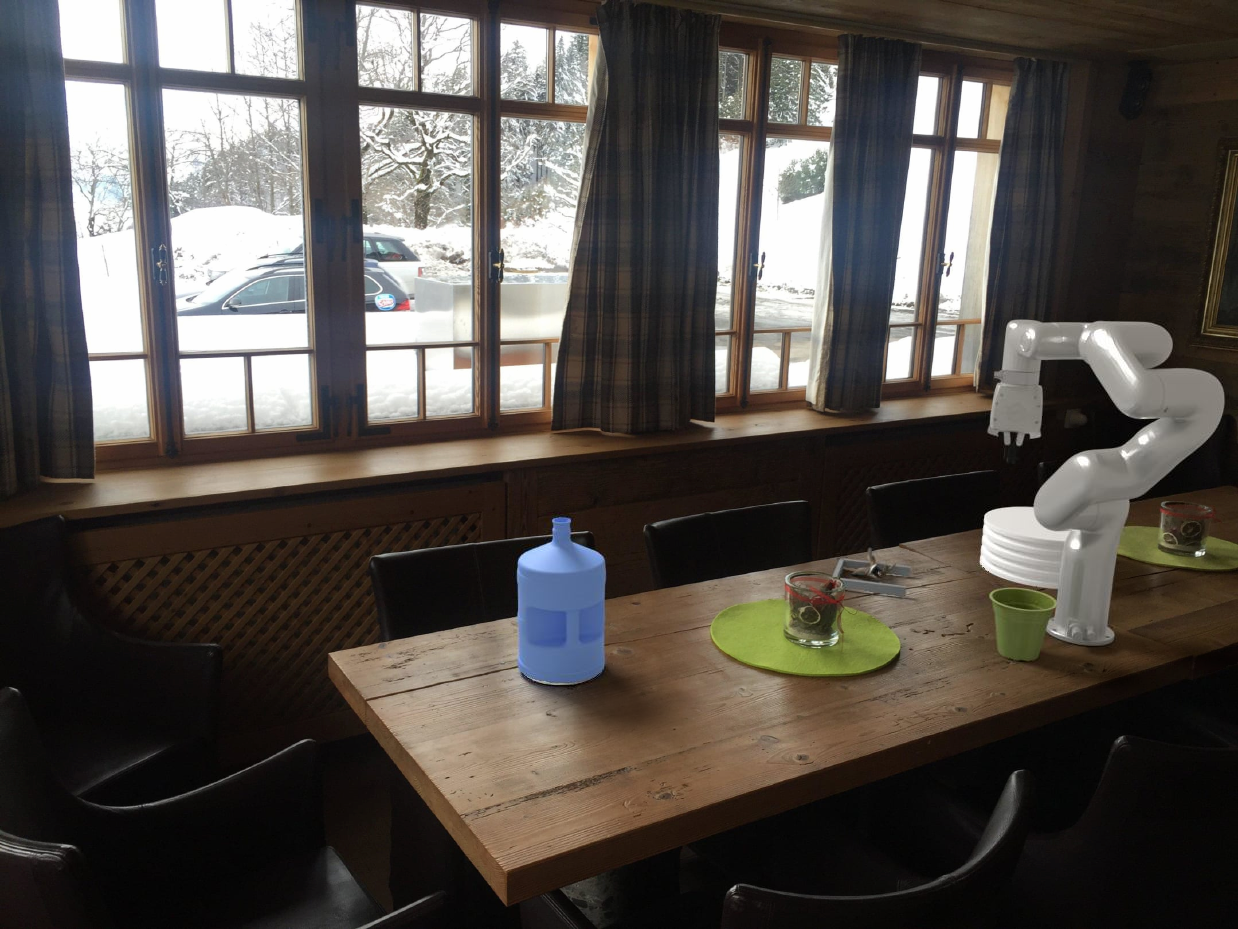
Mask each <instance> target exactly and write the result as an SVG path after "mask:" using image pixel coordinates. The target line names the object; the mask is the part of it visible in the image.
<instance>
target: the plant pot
mask: <svg viewBox="0 0 1238 929" xmlns="http://www.w3.org/2000/svg"><path fill="white" fill-rule="evenodd" d="M989 599H990V600H991V602H992V611H993V612H994V620H995V622H994V623H995V634H996V635H995V636H996V647H997V648H996V649H997V651H998V653H999V655H1001V657H1004V658H1006V657H1007V658H1006V659H1009V658H1011V659H1013V660H1012V661H1020V660H1021V661H1025V662H1030V661H1031V660H1032V661H1035V660H1037V659H1038V657H1039V656H1040V652H1041V648H1042V646H1043V641H1044V638H1045V635H1046V632H1047V631H1046V628H1047V625H1048V622H1049V619H1051V618H1052V615H1053V612H1054V610H1056V607H1057V605H1058V603H1057V599H1055V598H1054V597H1052V596H1051V595H1049V594H1047V593H1044V592H1041V591H1038V590H1034V589H1029V588H1020V587H1004V588H998V589H994V590H992V591H991V592H990V593H989ZM1011 659H1010V660H1011ZM1032 661H1031V662H1032Z"/></svg>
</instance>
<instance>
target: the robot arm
mask: <svg viewBox="0 0 1238 929" xmlns="http://www.w3.org/2000/svg"><path fill="white" fill-rule="evenodd" d="M1005 329H1006V330H1005V338H1004V347H1003V356H1002V366H1001V367H1002V368H1001V370H999V371H994V372H993V373H994V374H993V376H994V377H993V379H998V380H1000V382H997V383H996V386H995V389H994V393H993V398H992V404H991V410H990V418H989V419H990V420H989V426H988V428H987V434H990V435H993V436H996V437H998V438H999V439H1000V440H1001V441H1002V442H1003V443H1004V453H1003V459H1006V464H1013V465H1014V464H1016V460H1019V459H1020V453H1021V452H1020V451H1021V446H1022V445H1023V444H1024V443H1026V442H1027V441H1028V440H1030V439H1037V438H1040V437H1041V436H1042V432H1041V426H1042V416H1043V402H1044V401H1043V398H1044V397H1043V387H1042V385H1039V383H1040V373H1041V372H1040V371H1041V365H1042V364H1041V363H1042V360H1043V361H1044V360H1045V361H1048V360H1083V361H1084V362H1085V363H1086V364H1088V365H1089V366H1090V368H1091V369H1092V371H1093V373H1094V375H1095V376H1096V378H1097V380H1098V381H1099V382H1100V384H1101V385H1102V387H1103V388H1104V390H1105V391H1106V392H1107V394H1108V396H1109V398H1110V399H1111V401H1112V402H1113V403H1114V405H1115V407H1116V408H1117V409H1118V410H1119V411H1120V412H1121V413H1122V414H1124V415H1126V416H1128V417H1130V418H1133V419H1136V420H1137V419H1138V420H1143V419H1144V420H1146V419H1148V420H1149V419H1157V420H1155V421H1153V422H1151V423H1149V424H1148V425H1146V426H1144V427H1142V428H1141V429H1140V430H1139V431H1138V432H1136V434H1134V436H1133V437H1132V438H1131V439H1129V440H1128V441H1127V442H1126V443H1125V444H1123V445H1121V446H1118V447H1114V448H1103V449H1102V448H1101V449H1090V450H1084V451H1081V452H1079V453H1076V454H1074V455H1073V456H1071V457H1070V458H1069V459H1067V460H1066V461H1065V462H1064V463H1063V464H1062V465H1061V466H1060V467H1059V468H1058V469H1057V470H1056V471H1055V472H1054V473H1053V474H1052V475H1051V476H1050V477H1049V478H1048V479H1047V480H1046V481H1045V482H1044V483H1043V484H1042V485H1041V487H1040V488H1039V490H1038V491H1037V493H1036V495H1035V498H1034V501H1033V502H1034V503H1033V507H1034V514H1035V517H1036V519H1037V521H1038V522H1039V523H1040V525H1042V526H1043V527H1044V528H1046V529H1048V530H1052V531H1070V533H1069V535H1068V537H1067V538H1066V541H1065V544H1064V548H1063V554H1062V562H1061V570H1060V579H1059V587H1058V589H1057V596H1056V601H1057V603H1058V605H1057V607H1056V608H1055V611H1054V612H1055V614H1054V617H1051V618H1050V619H1049V622H1048V625H1047V628H1046V632H1047V633H1048V634H1049V635H1050V636H1052V637H1053V638H1055V639H1058V640H1061V641H1063V642H1066V643H1071V644H1075V645H1079V646H1089V647H1092V646H1094V647H1098V646H1100V647H1101V646H1106V645H1109V644H1111V643H1113V641H1114V639H1115V632H1114V630H1112V629H1111V627H1109V626H1108V620H1109V613H1110V605H1111V598H1112V592H1113V591H1112V590H1113V583H1114V577H1115V576H1114V575H1115V568H1116V561H1117V555H1118V549H1119V544H1120V539H1121V535H1122V532H1123V529H1124V527H1125V524H1126V522H1127V519H1128V516H1129V511H1130V500H1131V499H1135V498H1139V497H1141V496H1143V495H1145V494H1146V493H1147V492H1148V491H1149V490H1151V488H1153V487H1154V486H1155V485H1156V484H1158V482H1160V480H1162V479H1163V478H1165V477H1166V476H1167V475H1168V474H1169V473H1170V472H1171V471H1172V470H1173V469H1175V467H1176V466H1177V465H1179V464H1180V463H1181V462H1182V461H1183V460H1185V459H1186V458H1187V457H1188V456H1190V455H1191V454H1193V453H1194V452H1195V451H1196V450H1197V449H1198V448H1200V447H1201V446H1202V445H1204V443H1206V441H1207V440H1208V439H1209V438H1211V436H1212V435H1213V433H1215V431H1216V429H1217V428H1218V425H1219V424H1220V422H1221V419H1222V416H1223V413H1224V408H1225V392H1224V387H1223V386H1222V384H1221V382H1220V381H1219V379H1218V378H1217V377H1216V376H1215V375H1213V374H1211V373H1210V372H1207V371H1204V370H1201V369H1196V368H1189V367H1188V368H1185V367H1183V368H1182V367H1181V368H1180V367H1179V368H1178V367H1176V368H1175V367H1174V368H1155V367H1157V366H1160V365H1161V364H1162V363H1164V362H1165V361H1166V360H1168V358H1169V357H1170V355H1171V353H1172V350H1173V347H1174V346H1173V339H1172V337H1171V335H1170V333H1169V332H1168V331H1167V330H1166V329H1165V328H1164V327H1163V326H1161V325H1158V324H1155V323H1153V322H1148V321H1147V322H1146V321H1110V320H1108V321H1104V320H1097V321H1094V322H1069V321H1068V322H1065V321H1063V322H1041V321H1038V320H1031V319H1013V320H1010V321H1009V322H1008V323H1007V325H1006V328H1005ZM1011 433H1017V434H1016V439H1015V440H1014V442H1013V441H1012V440H1011Z"/></svg>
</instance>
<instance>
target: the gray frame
mask: <svg viewBox="0 0 1238 929" xmlns="http://www.w3.org/2000/svg"><path fill="white" fill-rule="evenodd" d="M876 563H877V564H876V566H877V567H878V568H880V569H883V570H884V567H885V565H886V564H887V565H888V569H889V568H890V567H891V566H893V565H894V564H895V563H894V564H893V563H884V562H877V561H876ZM843 567H846V568H854V569H859V568H868V567H870V564H869V562H868V560H858V559H849V558H843V557H840V558H839V560H838V562H837V565H836V567H835V569H834V570H833V574H832V577H837V578H839V575H840V574H841V572H842V570H843ZM911 567H912V566H911V565H910V566H908V565H901V564H896V565H895V567H894V568H893V569H891V570H890V571H889V572H888V573H887V574H895V575H902V576H906V577H911ZM843 571H844V570H843ZM878 572H879V573H881V572H880V571H878ZM842 573H843V572H842ZM841 575H842V574H841ZM832 577H831V578H832ZM840 579H841V580H842V581H843V582H844V583H845V585H846V590H847V588H849V589H858V590H864V591H869V592H873V593H881V594H887V595H895V596H899V597H905V596H906V595H907V585H900V584H890V583H883V582H882V583H880V582H873V581H867V580H858V579H853V578H852V579H850V578H843V577H840ZM905 598H906V597H905Z"/></svg>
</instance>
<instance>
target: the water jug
mask: <svg viewBox="0 0 1238 929" xmlns="http://www.w3.org/2000/svg"><path fill="white" fill-rule="evenodd" d="M571 522H572V521H571V518H568V517H556V518H553V519H552V524H553V527H552V540H551V542H547V543H546V544H543V545H540V546H538V547H535V548H532V549H530V550H528V551H525V552H524V553H523V554H521V555H520V557H519V558H518V561H517V570H516V580H517V581H516V582H517V597H518V598H517V600H518V601H517V603H518V605H517V606H518V607H517V608H518V611H517V627H518V629H517V630H518V655H517V667H518V671H519V672H520V671H521V672H522V673H523V674H524V675H526V676H528V677H530V678H532V679H535V680H539V681H546V682H549V683H575V682H580V681H584V680H588V679H591V678H593V677H595V676H597V675H598V674H599V673H600V674H602V672H603V671H602V670H604V668H605V665H606V662H605V661H606V656H605V624H606V612H605V599H606V598H605V595H606V592H605V590H606V586H605V585H606V580H607V575H606V574H607V571H606V560H605V557H604V556H603V555H602V554H600V553H599V552H598V551H596V550H593V549H591V548H588V547H586V546H583V545H581V544H578V543H576V542H573V541H572V540H571V532H572V531H571ZM521 672H520V673H521ZM522 673H521V674H522ZM600 674H599V675H600ZM599 675H598V676H599ZM598 676H597V677H598Z"/></svg>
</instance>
